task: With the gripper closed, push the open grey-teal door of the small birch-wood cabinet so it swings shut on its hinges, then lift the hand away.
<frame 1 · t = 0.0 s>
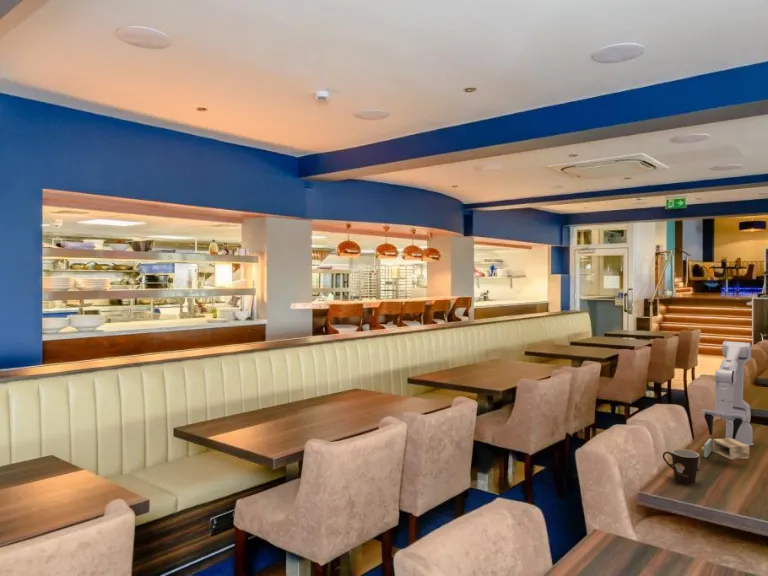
hand: (722, 436, 219), 11 cm above the table, tool pointing down, fingers open, 7 cm apart
coffee mug: (681, 480, 204), on the table
cabinet: (730, 454, 230), on the table
door: (706, 447, 230), point 3 cm above the table, hinge at 50.0°
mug: (683, 467, 217), on the table
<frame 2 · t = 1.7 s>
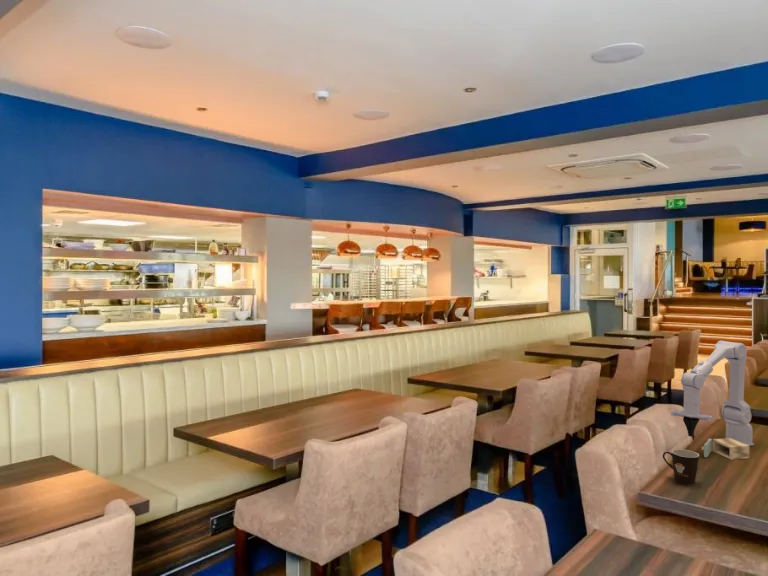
hand: (690, 435, 232), 7 cm above the table, tool pointing down, fingers closed
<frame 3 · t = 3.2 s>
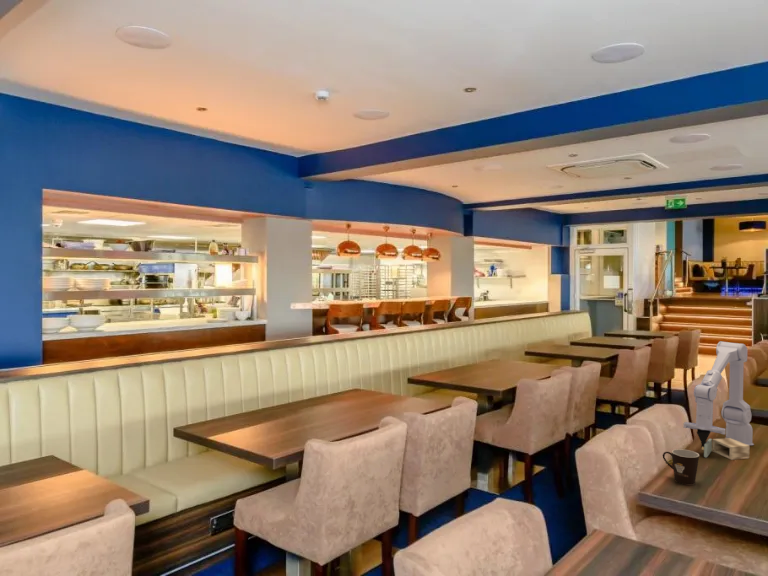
hand: (703, 448, 230), 3 cm above the table, tool pointing down, fingers closed, pressing on door
door: (706, 447, 230), point 3 cm above the table, hinge at 49.8°, touching gripper
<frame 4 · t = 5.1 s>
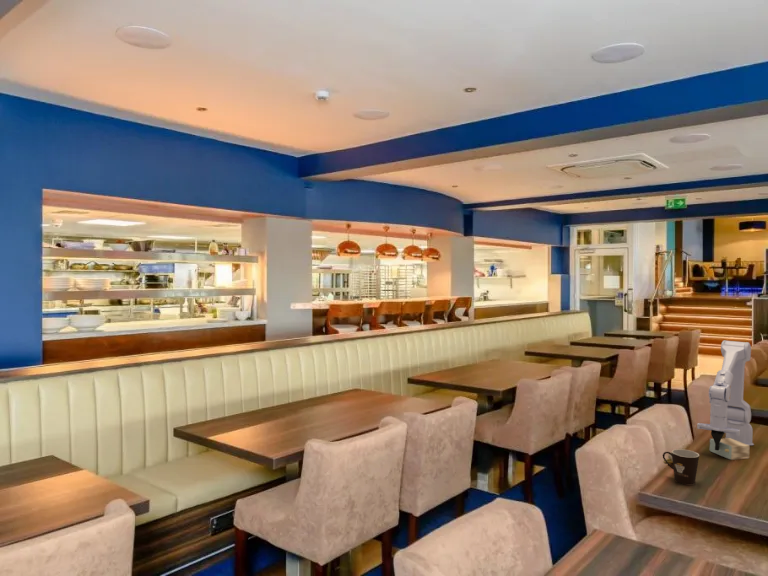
hand: (717, 449, 228), 3 cm above the table, tool pointing down, fingers closed, pressing on door
door: (718, 448, 229), point 3 cm above the table, hinge at -2.1°, touching gripper
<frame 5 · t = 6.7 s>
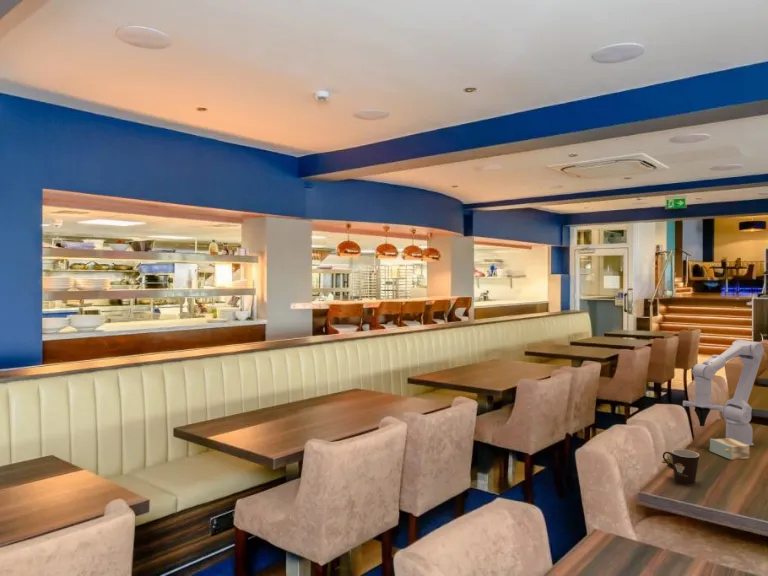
hand: (702, 425, 238), 9 cm above the table, tool pointing down, fingers closed
door: (718, 448, 229), point 3 cm above the table, hinge at -2.1°
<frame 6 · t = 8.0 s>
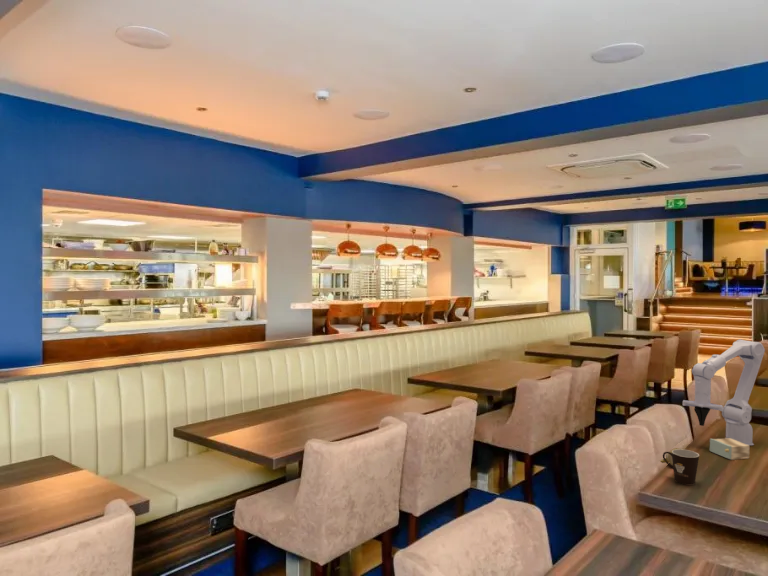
hand: (701, 425, 238), 9 cm above the table, tool pointing down, fingers closed
at the end: door at -2° (first picture: +50°); the gripper is holding nothing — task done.
